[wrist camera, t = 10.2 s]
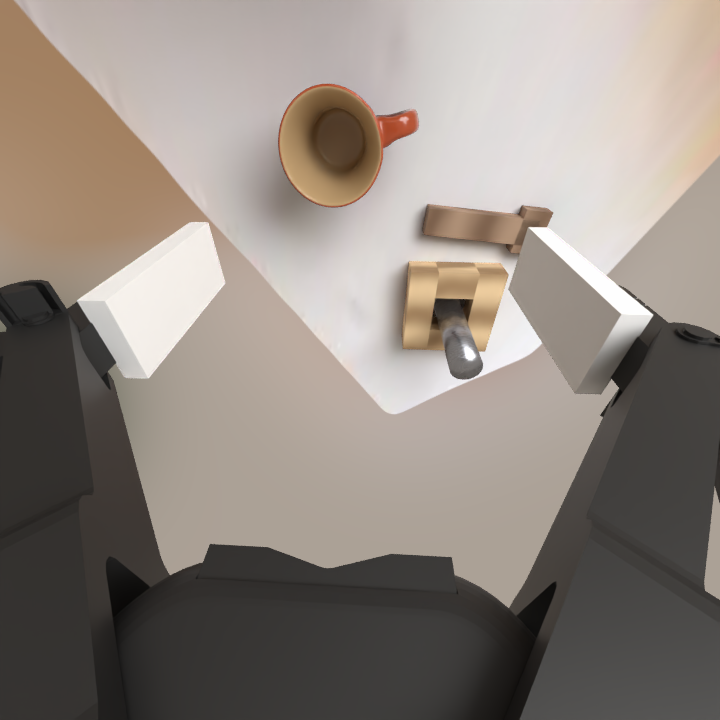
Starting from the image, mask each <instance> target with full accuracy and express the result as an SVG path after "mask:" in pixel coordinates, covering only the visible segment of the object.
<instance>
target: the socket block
mask: <svg viewBox="0 0 720 720" xmlns="http://www.w3.org/2000/svg"><path fill="white" fill-rule="evenodd" d="M507 279H508V273H507V272H506V270H505V269H504V267H503V266H502V264H501V263H464V262H418V261H409V268H408V278H407V288H406V298H405V308H404V318H403V328H402V344H403V349H422V350H445V349H444V345H443V341H442V337H441V333H440V329H439V325H438V321H437V317H432V314H433V308H434V302H435V298H444V299H465V303H464V307H463V312H464V314H465V317H466V320H467V322H468V325H469V328H470V330H471V333H472V336H473V339H474V341H475V344H476V347H477V349H478V351H485V350H486V347H487V343H488V340H489V337H490V334H491V330H492V327H493V324H494V321H495V317H496V314H497V311H498V308H499V304H500V301H501V298H502V295H503V291H504V288H505V285H506V282H507Z"/></svg>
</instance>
